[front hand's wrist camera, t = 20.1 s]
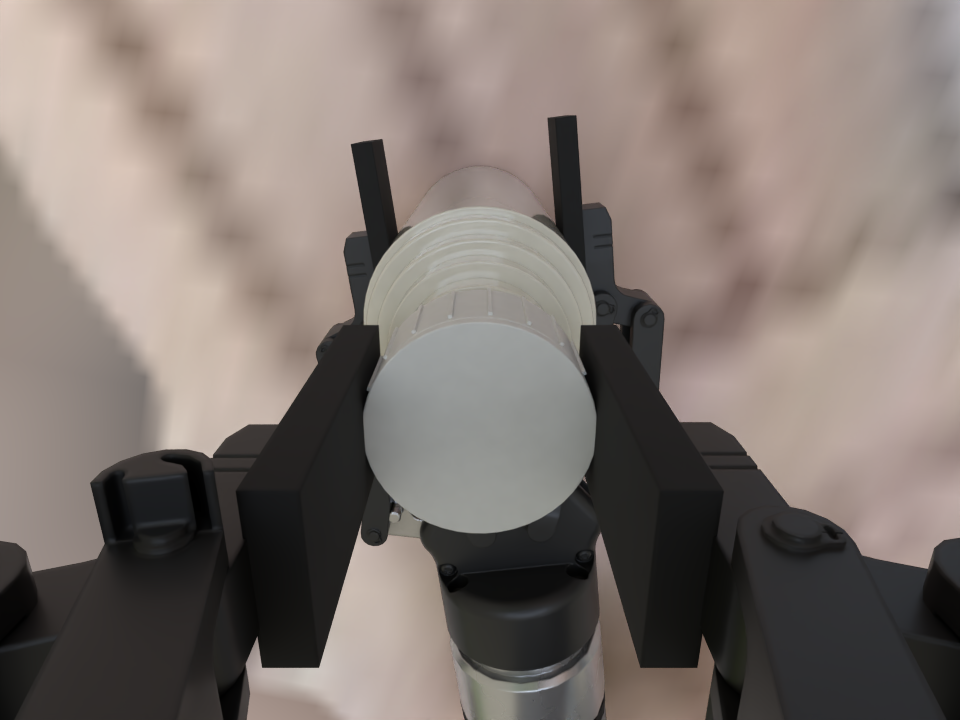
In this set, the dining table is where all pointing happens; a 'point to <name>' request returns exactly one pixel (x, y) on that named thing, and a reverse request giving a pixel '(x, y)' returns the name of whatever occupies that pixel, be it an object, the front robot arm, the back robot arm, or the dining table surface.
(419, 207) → the bottle
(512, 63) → the dining table surface
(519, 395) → the cap
